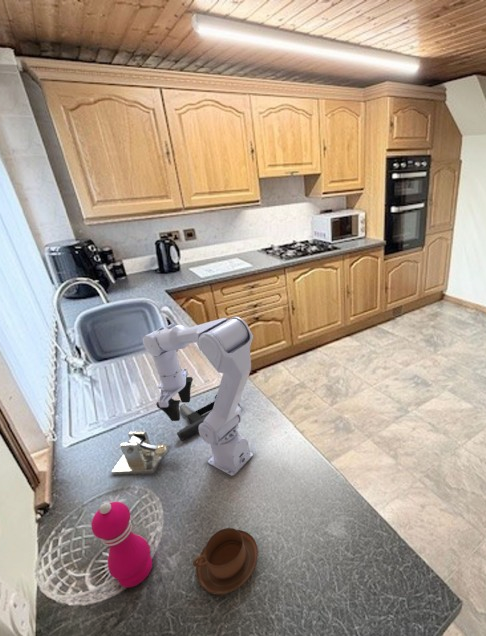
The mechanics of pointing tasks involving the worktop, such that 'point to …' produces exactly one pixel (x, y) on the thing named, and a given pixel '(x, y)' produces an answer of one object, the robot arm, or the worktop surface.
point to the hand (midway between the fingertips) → (181, 410)
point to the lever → (150, 446)
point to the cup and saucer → (226, 561)
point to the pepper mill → (122, 544)
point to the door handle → (194, 419)
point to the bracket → (137, 457)
